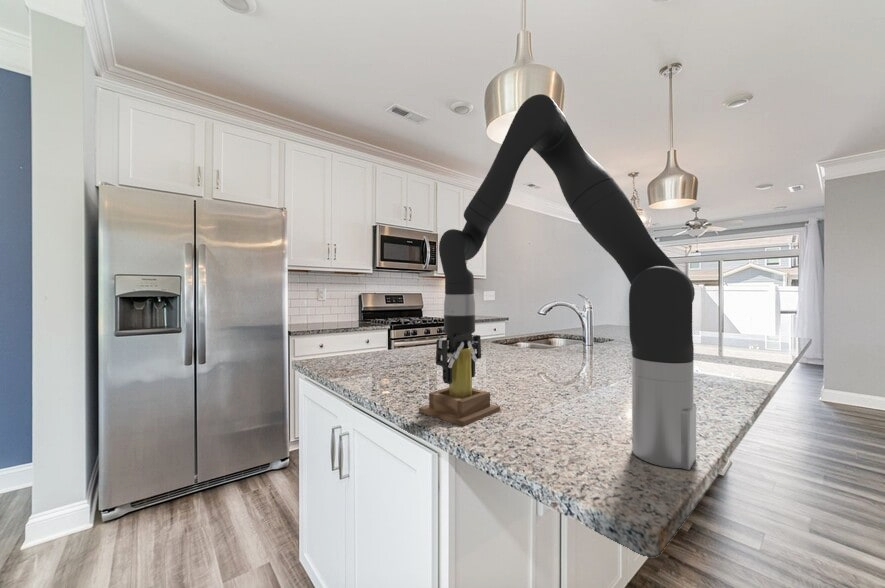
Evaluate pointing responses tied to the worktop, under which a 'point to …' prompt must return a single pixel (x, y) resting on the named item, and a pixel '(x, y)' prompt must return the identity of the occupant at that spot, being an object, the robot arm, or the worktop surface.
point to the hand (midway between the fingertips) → (459, 380)
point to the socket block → (459, 406)
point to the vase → (461, 375)
